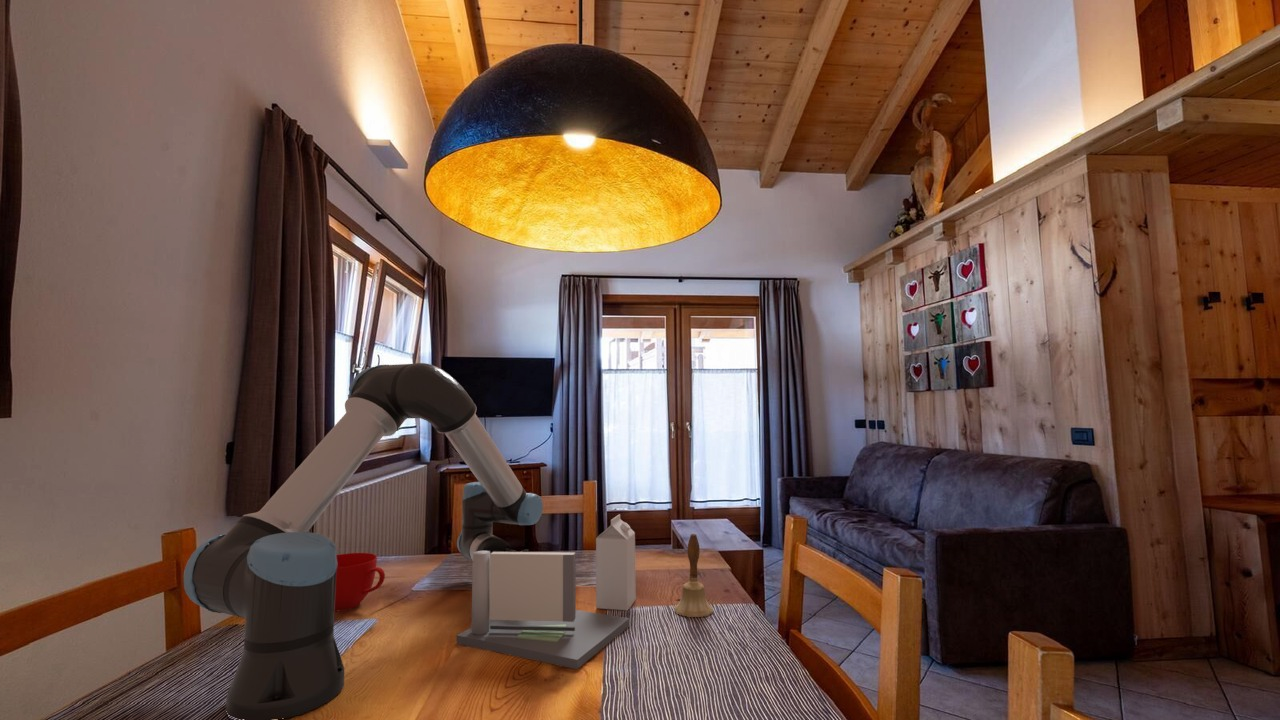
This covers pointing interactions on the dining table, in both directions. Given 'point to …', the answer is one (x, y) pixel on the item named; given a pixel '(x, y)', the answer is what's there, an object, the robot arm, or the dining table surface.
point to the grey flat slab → (551, 639)
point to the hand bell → (693, 587)
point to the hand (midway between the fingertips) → (532, 575)
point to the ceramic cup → (355, 579)
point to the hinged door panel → (523, 589)
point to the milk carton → (615, 566)
